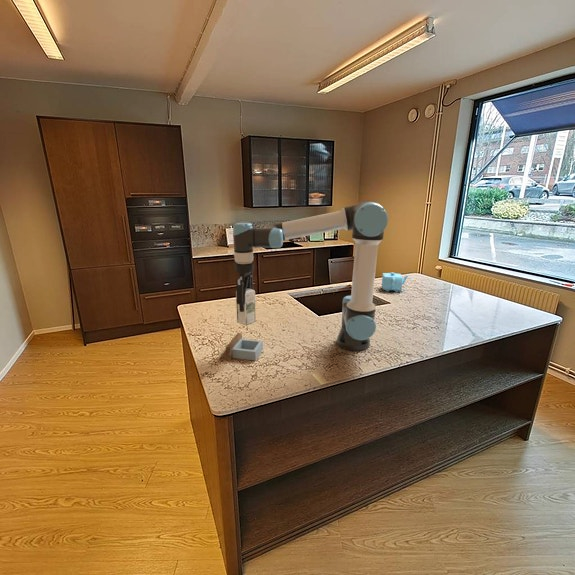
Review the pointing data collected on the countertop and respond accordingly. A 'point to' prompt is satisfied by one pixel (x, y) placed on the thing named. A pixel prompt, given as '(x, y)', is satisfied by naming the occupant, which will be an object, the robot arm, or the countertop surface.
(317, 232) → the robot arm
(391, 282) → the teapot
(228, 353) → the base
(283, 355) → the countertop surface
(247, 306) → the syrup box
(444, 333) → the countertop surface
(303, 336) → the countertop surface
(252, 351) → the blue gray square tray
